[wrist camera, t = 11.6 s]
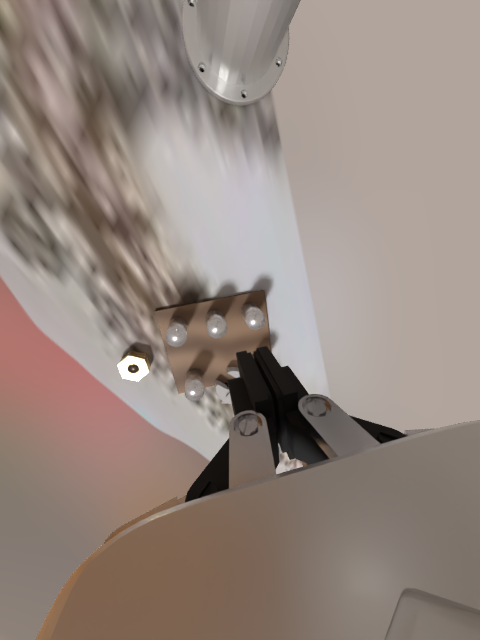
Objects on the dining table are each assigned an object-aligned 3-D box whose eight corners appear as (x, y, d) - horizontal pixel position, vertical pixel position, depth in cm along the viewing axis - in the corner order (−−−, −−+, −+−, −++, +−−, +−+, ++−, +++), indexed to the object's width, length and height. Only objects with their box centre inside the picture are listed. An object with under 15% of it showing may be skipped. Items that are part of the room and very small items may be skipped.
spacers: (166, 318, 38) (162, 330, 33) (256, 300, 39) (265, 309, 35) (185, 384, 42) (184, 403, 38) (264, 366, 44) (273, 381, 39)
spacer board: (155, 310, 37) (154, 311, 37) (263, 289, 39) (264, 290, 39) (178, 391, 43) (178, 393, 43) (272, 369, 45) (273, 371, 45)
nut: (115, 363, 39) (111, 370, 37) (137, 345, 39) (134, 351, 37) (135, 378, 41) (132, 385, 39) (155, 361, 40) (153, 367, 38)
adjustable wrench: (282, 445, 53) (285, 452, 51) (257, 457, 53) (259, 465, 51) (239, 362, 43) (241, 367, 41) (207, 377, 43) (208, 383, 41)
